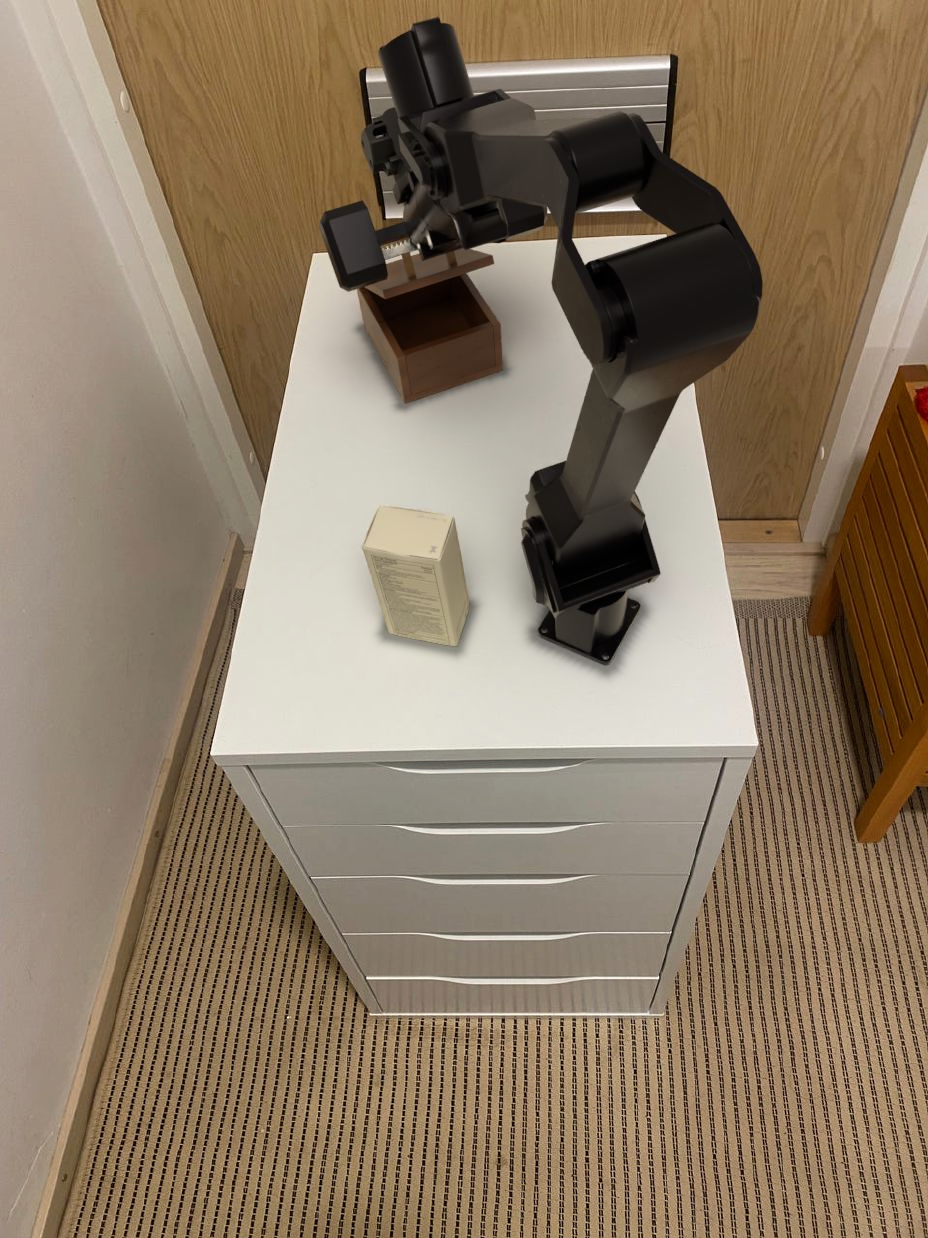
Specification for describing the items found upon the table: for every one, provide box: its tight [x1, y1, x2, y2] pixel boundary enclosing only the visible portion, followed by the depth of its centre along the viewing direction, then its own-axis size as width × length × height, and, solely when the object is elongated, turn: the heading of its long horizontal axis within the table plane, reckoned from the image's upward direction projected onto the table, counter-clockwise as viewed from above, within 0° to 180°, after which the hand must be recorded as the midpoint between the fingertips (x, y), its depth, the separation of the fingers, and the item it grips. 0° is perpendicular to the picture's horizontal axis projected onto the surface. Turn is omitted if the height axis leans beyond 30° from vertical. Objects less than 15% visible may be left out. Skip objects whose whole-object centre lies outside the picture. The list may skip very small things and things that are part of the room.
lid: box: [365, 237, 495, 299], centre depth 89 cm, size 13×11×5 cm
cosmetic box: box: [361, 504, 471, 647], centre depth 74 cm, size 6×4×12 cm
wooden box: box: [356, 273, 504, 404], centre depth 95 cm, size 13×11×6 cm
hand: (418, 244), depth 88 cm, fingers open, 9 cm apart
